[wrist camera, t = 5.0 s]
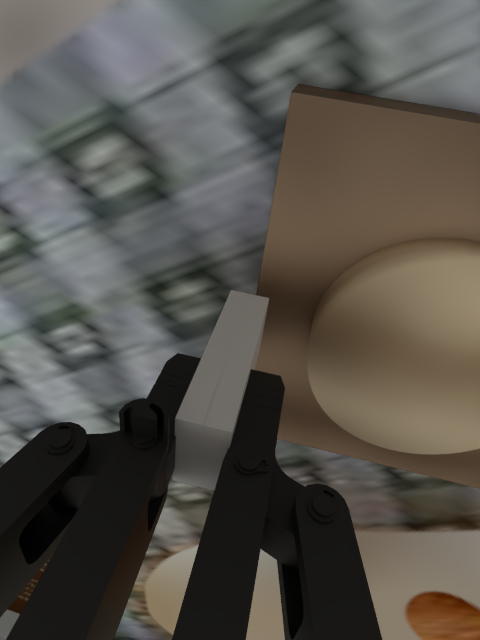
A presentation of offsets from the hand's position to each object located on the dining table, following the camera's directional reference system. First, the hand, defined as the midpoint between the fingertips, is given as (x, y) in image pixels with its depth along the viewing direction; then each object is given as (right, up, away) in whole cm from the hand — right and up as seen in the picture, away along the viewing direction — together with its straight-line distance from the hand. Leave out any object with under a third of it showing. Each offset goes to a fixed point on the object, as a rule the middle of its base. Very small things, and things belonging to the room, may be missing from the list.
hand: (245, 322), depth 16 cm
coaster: (+7, -1, 0) cm, 7 cm away
